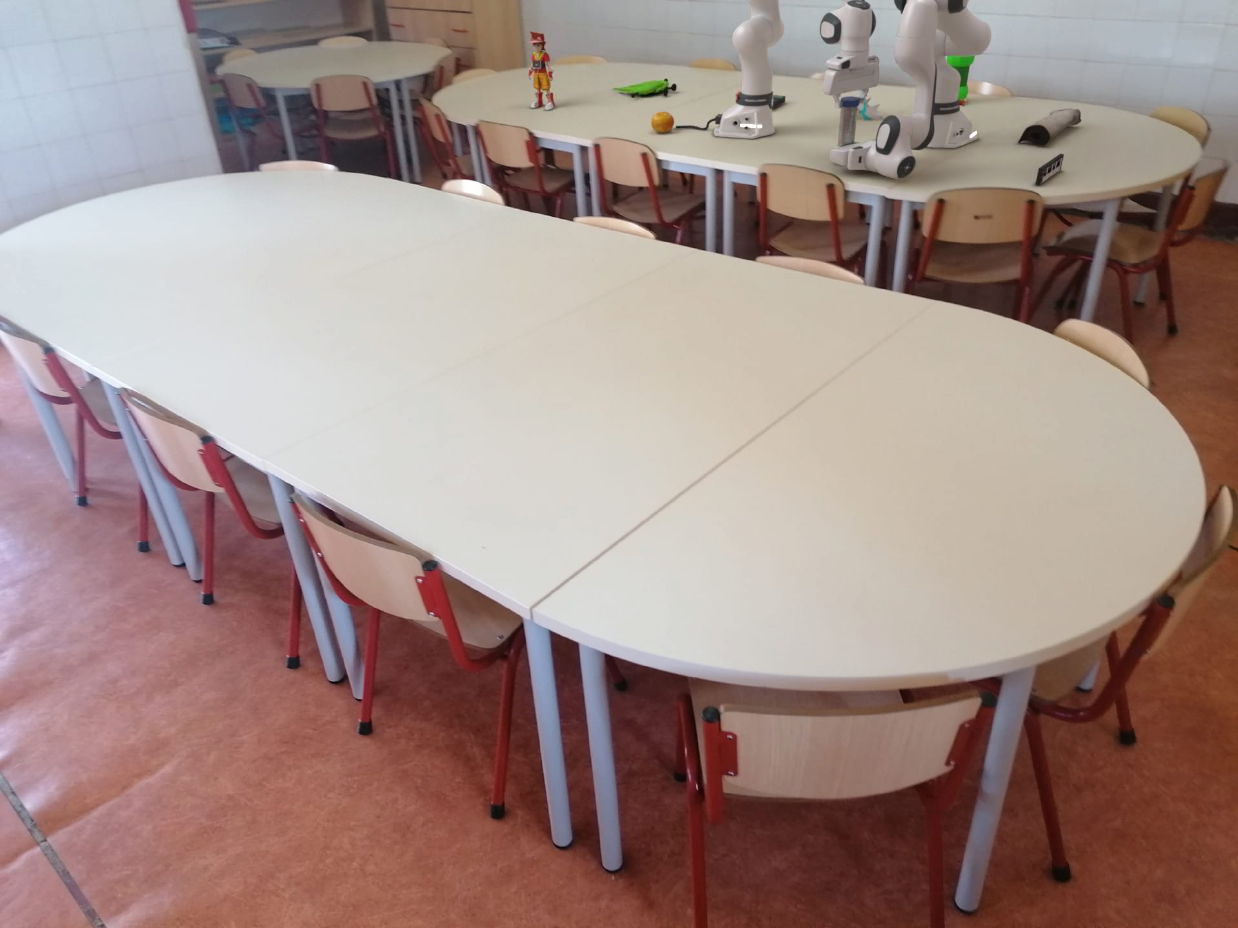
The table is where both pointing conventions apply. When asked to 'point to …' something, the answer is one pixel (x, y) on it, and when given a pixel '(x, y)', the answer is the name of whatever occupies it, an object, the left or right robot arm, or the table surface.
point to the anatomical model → (868, 108)
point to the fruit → (662, 122)
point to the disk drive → (778, 100)
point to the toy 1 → (541, 71)
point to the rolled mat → (1050, 126)
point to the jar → (847, 126)
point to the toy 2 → (648, 88)
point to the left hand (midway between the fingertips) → (849, 105)
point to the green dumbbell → (961, 72)
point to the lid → (850, 101)
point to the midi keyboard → (1049, 169)
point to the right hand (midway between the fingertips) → (843, 146)
